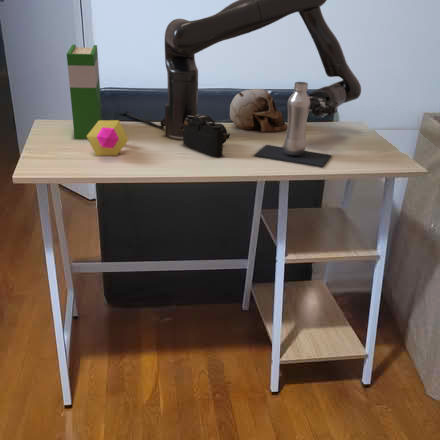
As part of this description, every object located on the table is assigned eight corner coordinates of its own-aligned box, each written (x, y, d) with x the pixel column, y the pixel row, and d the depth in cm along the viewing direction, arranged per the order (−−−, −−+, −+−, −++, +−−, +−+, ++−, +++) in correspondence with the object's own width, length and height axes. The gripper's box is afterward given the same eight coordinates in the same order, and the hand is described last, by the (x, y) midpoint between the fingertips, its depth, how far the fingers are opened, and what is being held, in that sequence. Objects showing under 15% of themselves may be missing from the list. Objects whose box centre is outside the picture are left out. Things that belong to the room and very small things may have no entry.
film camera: (243, 148, 168) (245, 115, 163) (223, 159, 158) (225, 124, 153) (192, 138, 175) (193, 105, 170) (170, 148, 165) (170, 113, 160)
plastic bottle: (309, 155, 164) (318, 83, 153) (294, 159, 159) (302, 86, 149) (292, 149, 167) (300, 79, 157) (277, 153, 163) (284, 82, 153)
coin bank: (291, 127, 189) (292, 87, 182) (257, 142, 180) (256, 99, 172) (258, 119, 199) (257, 80, 191) (223, 132, 190) (221, 92, 182)
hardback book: (79, 123, 184) (72, 44, 171) (102, 123, 185) (96, 45, 172) (74, 139, 169) (66, 53, 156) (99, 139, 170) (93, 54, 157)
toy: (131, 147, 167) (114, 114, 164) (133, 147, 150) (115, 110, 147) (100, 162, 167) (83, 129, 163) (100, 164, 150) (81, 127, 146)
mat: (254, 156, 162) (254, 154, 162) (266, 146, 171) (266, 144, 171) (322, 167, 156) (322, 165, 156) (330, 156, 165) (330, 154, 165)
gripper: (304, 83, 172) (281, 92, 160) (348, 90, 165) (327, 100, 154) (301, 108, 176) (278, 119, 164) (344, 116, 169) (323, 127, 158)
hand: (302, 110), depth 159 cm, fingers open, 8 cm apart
